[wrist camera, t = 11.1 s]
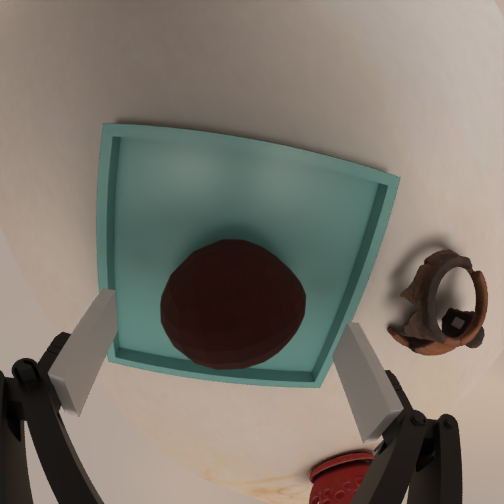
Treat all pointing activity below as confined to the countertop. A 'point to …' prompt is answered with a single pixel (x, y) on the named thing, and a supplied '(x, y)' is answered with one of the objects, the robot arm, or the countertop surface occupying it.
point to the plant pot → (339, 478)
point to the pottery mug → (454, 321)
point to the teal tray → (233, 236)
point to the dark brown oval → (232, 305)
